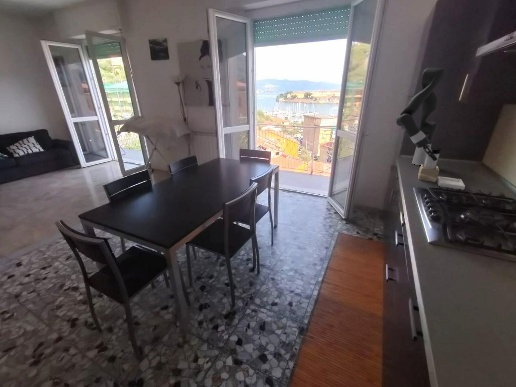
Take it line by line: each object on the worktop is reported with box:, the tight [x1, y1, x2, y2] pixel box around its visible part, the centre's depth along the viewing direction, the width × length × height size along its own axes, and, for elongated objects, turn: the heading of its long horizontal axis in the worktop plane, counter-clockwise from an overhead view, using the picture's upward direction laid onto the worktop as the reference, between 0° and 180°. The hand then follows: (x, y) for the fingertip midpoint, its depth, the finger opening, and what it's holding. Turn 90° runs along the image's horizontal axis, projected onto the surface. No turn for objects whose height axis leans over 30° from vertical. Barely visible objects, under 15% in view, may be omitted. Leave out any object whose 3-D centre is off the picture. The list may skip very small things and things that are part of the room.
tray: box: [436, 175, 466, 191], centre depth 149 cm, size 14×13×2 cm
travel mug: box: [423, 147, 443, 170], centre depth 156 cm, size 6×7×20 cm
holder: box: [417, 164, 440, 183], centre depth 159 cm, size 11×10×8 cm
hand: (435, 158), depth 154 cm, fingers closed on travel mug, 6 cm apart
